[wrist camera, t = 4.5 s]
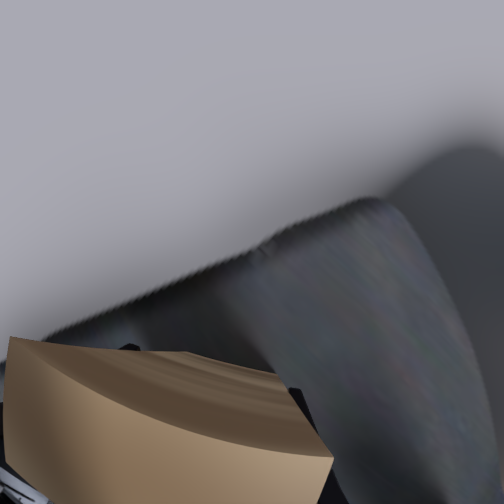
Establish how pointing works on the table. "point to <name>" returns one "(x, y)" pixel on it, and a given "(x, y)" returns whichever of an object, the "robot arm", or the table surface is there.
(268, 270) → the table surface
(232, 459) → the plate
